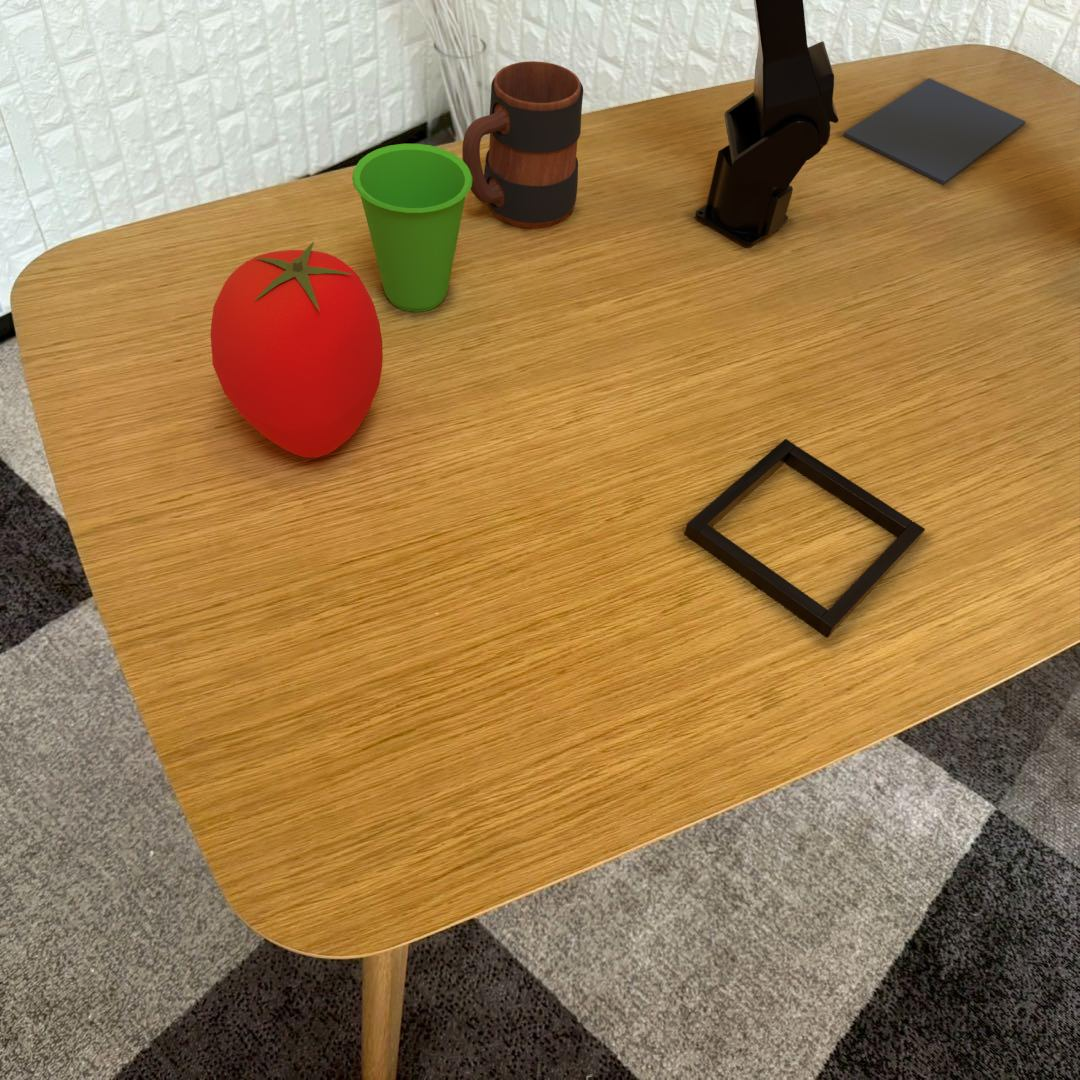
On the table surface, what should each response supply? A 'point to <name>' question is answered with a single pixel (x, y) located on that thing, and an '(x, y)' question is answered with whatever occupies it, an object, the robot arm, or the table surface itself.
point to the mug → (528, 144)
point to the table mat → (935, 130)
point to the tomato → (298, 348)
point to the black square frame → (771, 581)
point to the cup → (413, 218)
